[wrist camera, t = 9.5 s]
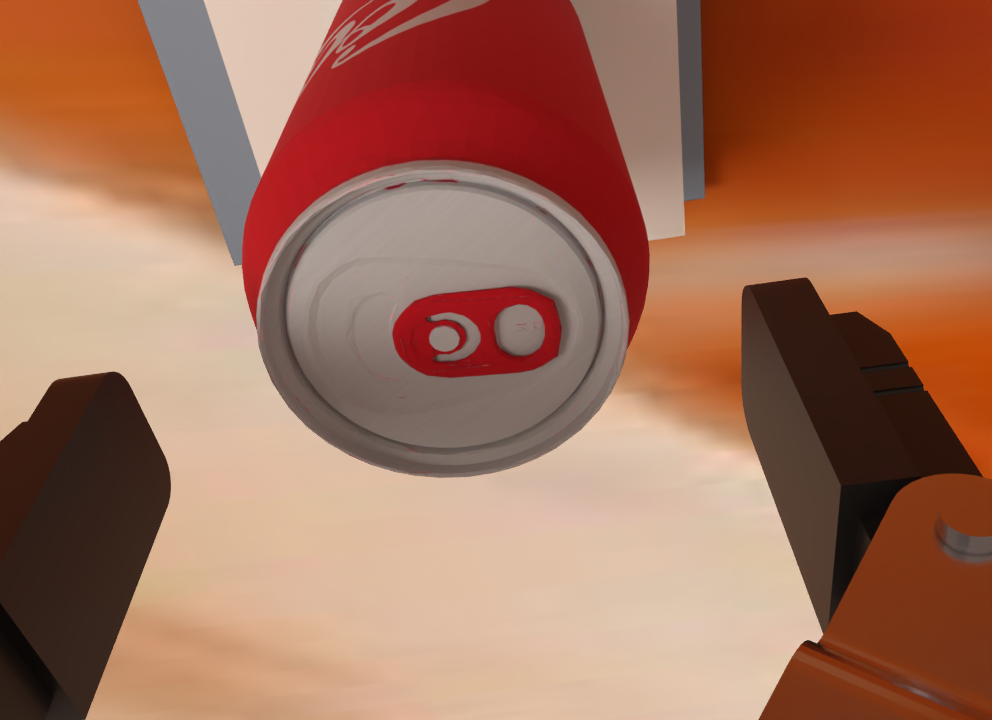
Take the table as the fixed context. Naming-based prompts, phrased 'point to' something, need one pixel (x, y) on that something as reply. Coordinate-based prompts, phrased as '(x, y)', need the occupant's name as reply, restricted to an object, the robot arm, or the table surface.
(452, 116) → the beverage can
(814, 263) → the table surface
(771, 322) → the robot arm
